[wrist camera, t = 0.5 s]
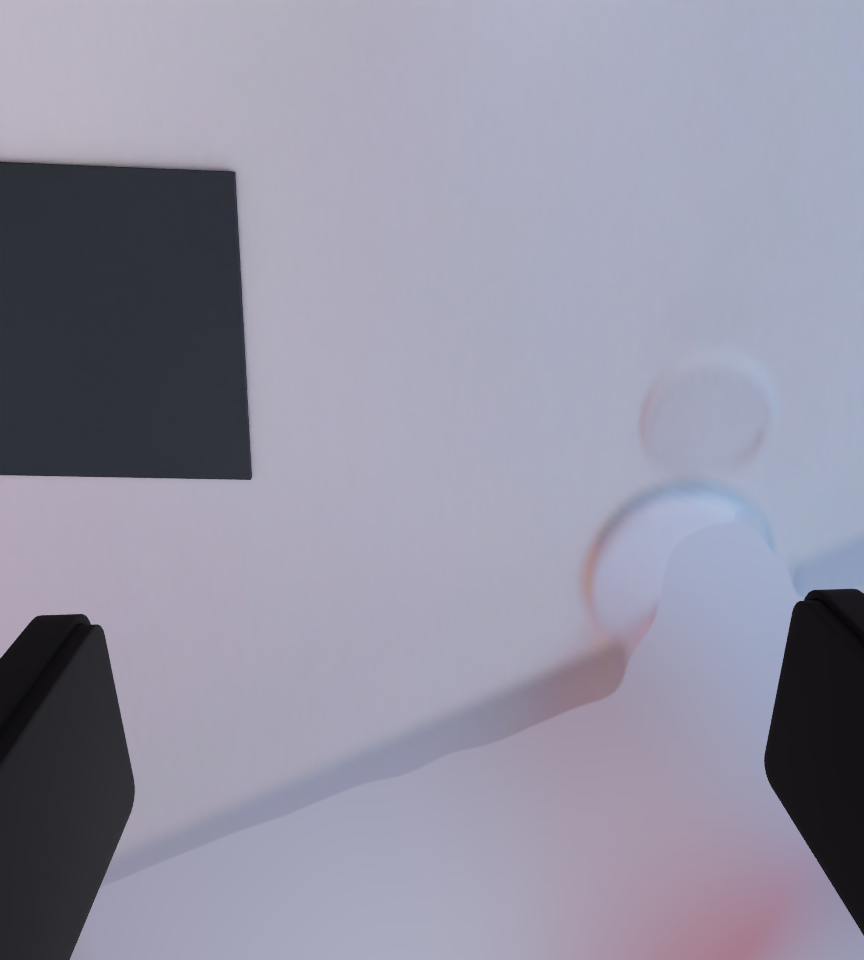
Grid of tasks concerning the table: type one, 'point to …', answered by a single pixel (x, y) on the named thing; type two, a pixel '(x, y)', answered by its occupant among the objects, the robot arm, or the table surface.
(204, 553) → the table surface
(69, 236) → the desk mat
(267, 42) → the table surface
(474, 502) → the table surface
